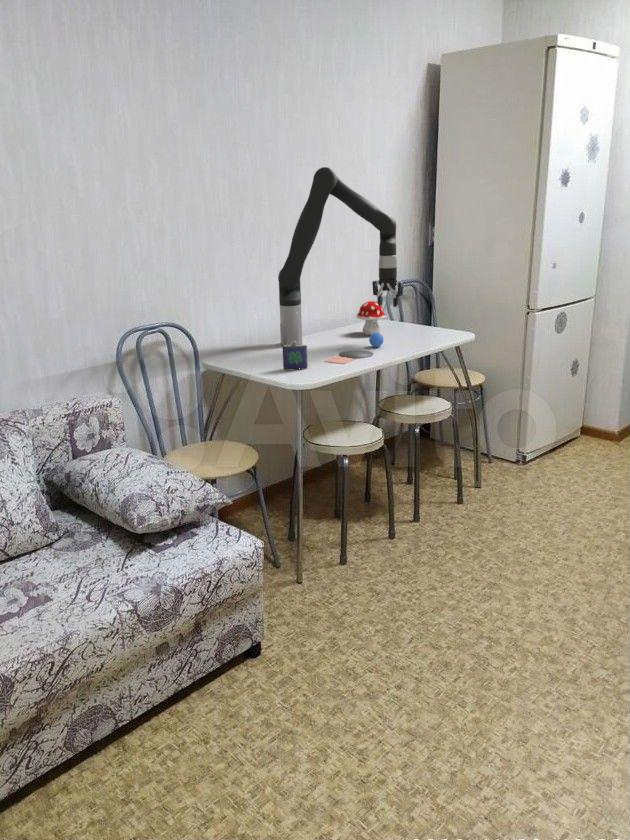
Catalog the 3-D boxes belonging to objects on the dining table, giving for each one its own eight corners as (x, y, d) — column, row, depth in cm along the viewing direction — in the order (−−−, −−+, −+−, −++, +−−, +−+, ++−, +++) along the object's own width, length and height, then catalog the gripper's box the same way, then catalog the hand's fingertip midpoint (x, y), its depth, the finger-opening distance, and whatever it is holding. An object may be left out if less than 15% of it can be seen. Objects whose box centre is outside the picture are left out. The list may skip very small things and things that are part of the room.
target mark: (339, 358, 281) (339, 358, 281) (338, 351, 294) (338, 350, 294) (374, 357, 281) (374, 357, 281) (372, 350, 294) (372, 349, 294)
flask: (307, 367, 269) (306, 339, 266) (308, 369, 267) (307, 341, 263) (283, 368, 269) (281, 340, 265) (283, 370, 266) (282, 342, 263)
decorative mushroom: (387, 331, 332) (387, 298, 327) (385, 337, 319) (385, 303, 314) (357, 331, 334) (357, 299, 329) (354, 337, 321) (354, 303, 316)
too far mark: (336, 356, 284) (336, 356, 284) (355, 359, 279) (355, 358, 279) (324, 361, 277) (324, 361, 277) (343, 364, 272) (343, 363, 272)
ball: (369, 348, 297) (369, 334, 295) (368, 345, 303) (368, 331, 301) (384, 348, 297) (384, 334, 295) (382, 345, 303) (382, 331, 301)
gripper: (407, 266, 296) (406, 305, 301) (377, 264, 304) (377, 303, 309) (398, 267, 290) (398, 308, 295) (368, 266, 298) (368, 306, 303)
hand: (387, 306), depth 302 cm, fingers open, 6 cm apart
